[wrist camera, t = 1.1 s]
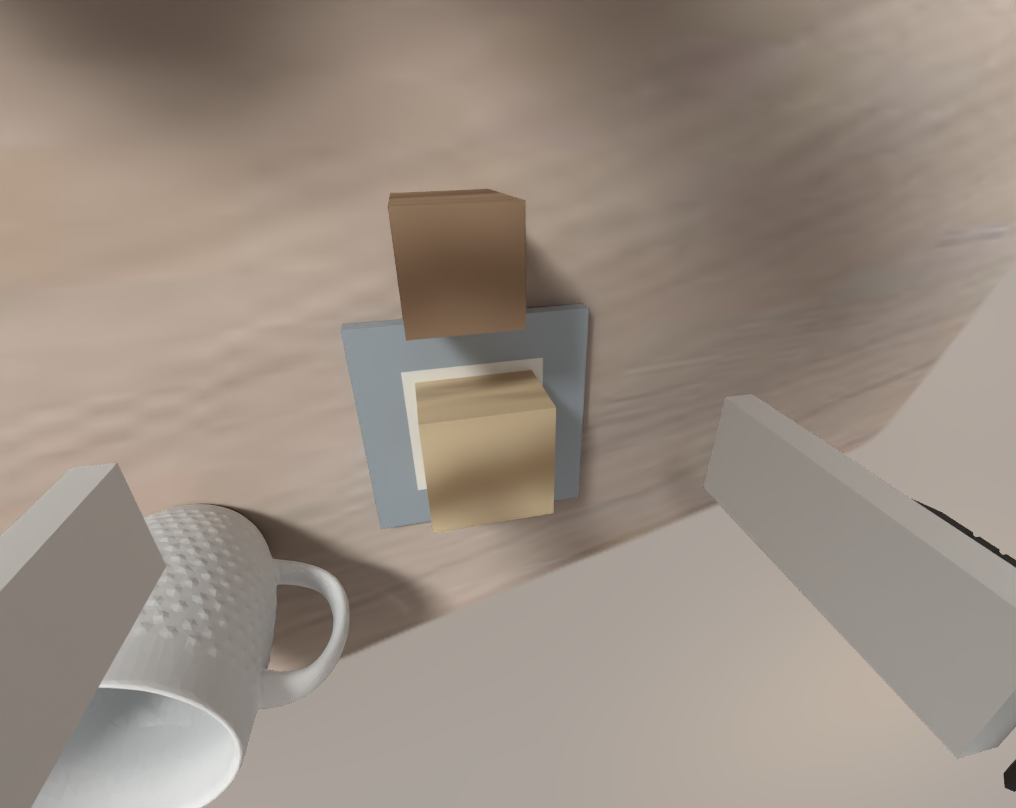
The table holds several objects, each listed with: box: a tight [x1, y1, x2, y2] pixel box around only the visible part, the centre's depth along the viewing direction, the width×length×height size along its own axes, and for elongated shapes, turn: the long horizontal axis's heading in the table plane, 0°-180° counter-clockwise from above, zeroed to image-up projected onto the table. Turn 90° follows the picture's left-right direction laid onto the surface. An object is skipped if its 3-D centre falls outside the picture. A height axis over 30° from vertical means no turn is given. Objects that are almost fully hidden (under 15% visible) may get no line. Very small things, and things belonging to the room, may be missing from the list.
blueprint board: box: [341, 304, 589, 529], centre depth 30 cm, size 14×14×1 cm
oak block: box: [415, 370, 556, 533], centre depth 27 cm, size 7×7×5 cm
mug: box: [31, 504, 350, 808], centre depth 25 cm, size 15×11×13 cm
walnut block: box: [388, 189, 526, 341], centre depth 22 cm, size 5×5×8 cm
